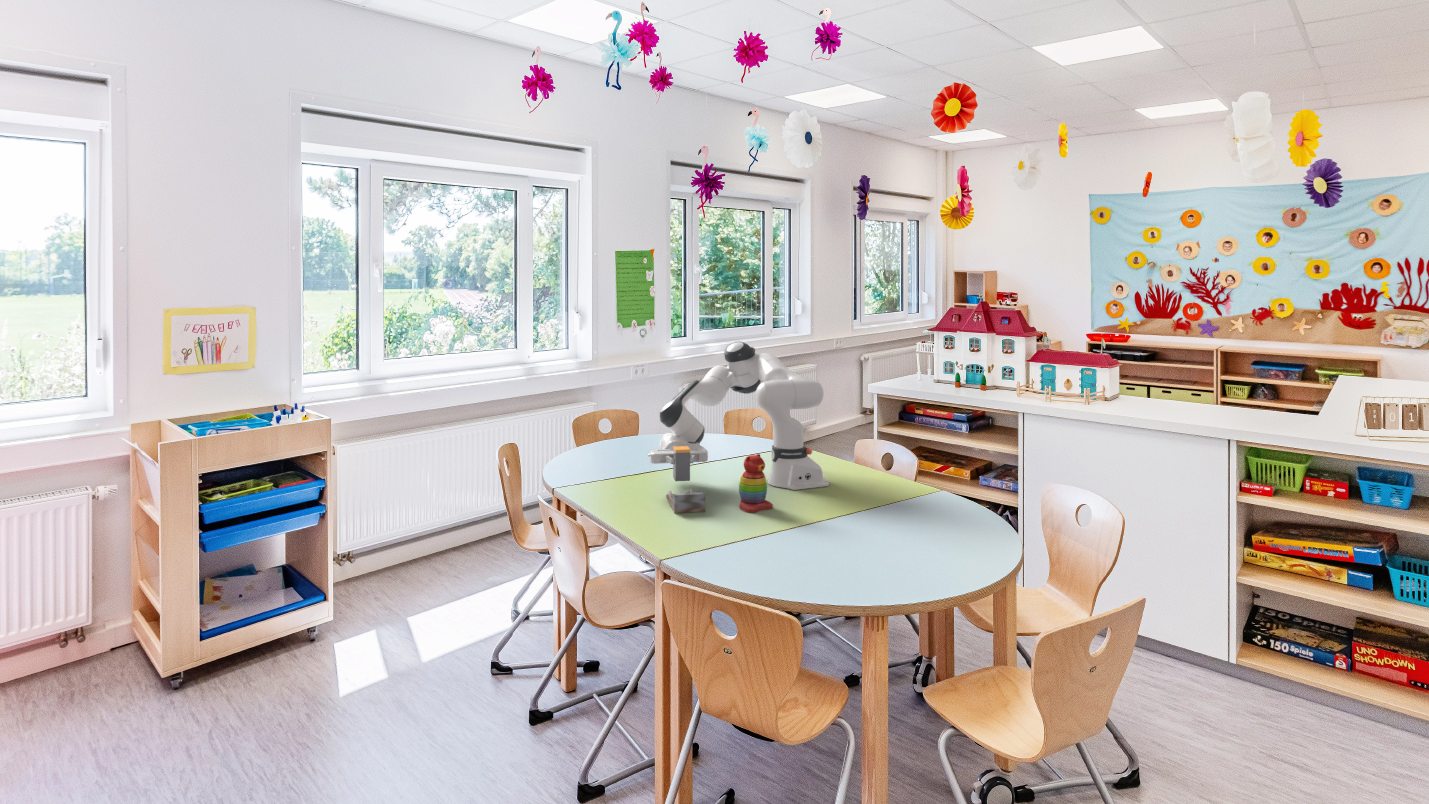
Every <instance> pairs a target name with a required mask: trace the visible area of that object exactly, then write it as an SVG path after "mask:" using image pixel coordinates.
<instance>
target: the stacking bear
mask: <svg viewBox="0 0 1429 804" xmlns="http://www.w3.org/2000/svg"><path fill="white" fill-rule="evenodd" d="M743 467H744V470H745V471H744V472H743V473H742V474H741V476H740V481H739V484H738V490H739V491H738V492H739V495H740V496H739V497H740V502H739V505H738V507H739V508H740V510H741V511H744V512H745V513H750V514H751V513H752V514H754V513H757V512H758V511H762V510H763V511H764V510H771V509H773V507H774V505H773V503H772V502H770V501H769V500H766V498H767V493H768V484H767V483H768V482H767V478H766V475H765V473H764V470H765V468H766V463H765V461H764V459H763V457H761V454H760V453H758V454H751V455H748V456H746V457H745V459H744V461H743Z"/></svg>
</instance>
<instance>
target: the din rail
mask: <svg viewBox="0 0 1429 804" xmlns="http://www.w3.org/2000/svg"><path fill="white" fill-rule="evenodd" d="M665 498H666V500H667V502H668V503H669V505H670V507H671V509H672V511H673V513H674V514H687V513H702V512H704V513H705V512H706V511H705V510H706V509H705V508H706V507H705V505H706V500H705V499H706V493H705V492H703V491H701V492H695V491H694V490H693V489H690V490H689V492H681V493H679V492H678V493H677V492H676V493H673V491H672V490H668V492H667V494H666V495H665Z"/></svg>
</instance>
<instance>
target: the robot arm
mask: <svg viewBox="0 0 1429 804" xmlns="http://www.w3.org/2000/svg"><path fill="white" fill-rule="evenodd" d="M723 352H724V353H723V354H724V360H725V361H726V366H725V365H724V366H723V365H720V364H719V365H715V366H713V367H712V368H711V369H709V370H708V372H707V373H706V374H705V375H704V377H702V379H701V381H700V380H697V379H695V380H694V381H692V382H690V383H688V384H687V385H686V386H685V387H684V388H683V389H682V390H681V391H680V392H679V393H678V394H677V395H675V397H673V398H672V399H671V400H670V401H669V402H667V403H666V404H665V405H664V406H663V407H662V408H661V409H660V411H659V422H661V424H663V425H664V426H665V427H667V428H668V430H670V431H671V432H666V433H664V434H663V435H662V436H661V437H660V440H659V448H655V449H651V450H650V451H649V452H647V456H648V457H649V458H650V459H649V460H650V464H653V465H654V464H655V465H657V464H670V465H673V464H675V459H674V458H673V447H675V446H688V447H689V448H690V464H694V463H705V462H706V463H707V462H708V458H709V453H708V450H707V449H706V448H705V447H704V446H702V445H701V443H702V441H703V439H704V436H705V431H706V430H705V426H704V425H703V424H702V423H701V421H699V419H697V418H696V417H695V415H693V414H692V413H691V411H689V410H688V409H687V408H686V406H685V403H686V402H688V400H692V401H693V400H694V401H695V402H697V403H699V404H700V405H702V406H705V407H716V406H717V405H720V403H722V401H724V398H725V397H726V396H727V393H728V392H729V390H730V388H731V390H732V391H734V392H737V393H740V394H746V395H747V394H752V393H754V395H755V396H754V397H755V400H756V401H755V402H757V405H758V406H759V407H760V408H761V409H762V410H764V411H765V412H766V413H767V415H768V417H769V419H770V420H771V424H772V430H773V431H772V433H773V434H772V435H773V436H772V437H773V438H772V439H773V440H772V442H773V443H772V445H771V462H772V463H771V469H770V473H769V478H768V480H767V483H768V484H769V485H770V486H773V487H777V488H783V489H788V490H791V491H792V490H793V491H795V490H806V489H813V488H823V487H829V485H830V483H829V482H830V481H829V480H828V479H827V478H826V477H824V474H823V469H822V467H821V466H820V464H819V463H817V462H816V461H815V460H813V459H812V458H811V457H810V456H809V455H812V454H813V450H812V449H811V448H808V447H806V446H805V445H804V437H805V436H804V431H805V430H804V429H805V428H804V426H803V423H802V422H801V421H799V420H798V419H796V418H794V417H792V416H791V410H808V409H811V408H814V407H819V406H820V404H821V403H822V402H823V400H824V394H825V393H824V388H823V386H822V384H821V383H820V382H819V381H818V380H814V379H810V378H807V377H805V376H803V375H800V374H798V373H797V372H796V373H795V372H794V371H792V370H790V369H789V367H787V366H786V365H785V364H784V363H783V362H782V360H780V358H778V357H777V356H775V355H774V354H772V353H769V352H762V353H759V354H757V353H756V349H755V348H754V347H753V346H750V345H749V344H748V343H745V342H743V341H734V342H732V343H730V344H728V345H727V346H726V347H725V349H724V351H723Z"/></svg>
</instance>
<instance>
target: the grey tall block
mask: <svg viewBox="0 0 1429 804" xmlns="http://www.w3.org/2000/svg"><path fill="white" fill-rule="evenodd" d="M673 458H674V459H675V464H672V465H673V467H672V470H673V471H672V474H673V475H672V477H673V480H674V481H675V482H691V463H690V448H689V447H688V446H675V447H673Z"/></svg>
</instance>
